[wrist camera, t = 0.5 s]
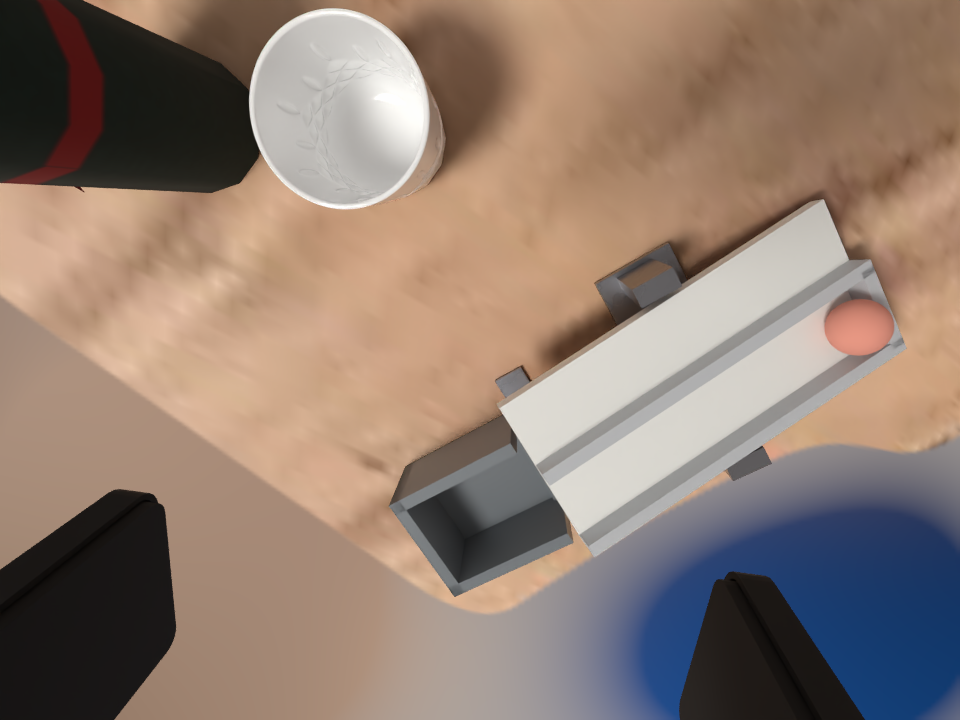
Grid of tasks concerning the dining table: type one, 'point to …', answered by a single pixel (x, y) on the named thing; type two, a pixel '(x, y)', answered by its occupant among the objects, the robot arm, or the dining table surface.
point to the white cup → (344, 111)
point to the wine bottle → (114, 105)
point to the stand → (630, 296)
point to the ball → (859, 327)
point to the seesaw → (696, 378)
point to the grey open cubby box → (480, 508)
